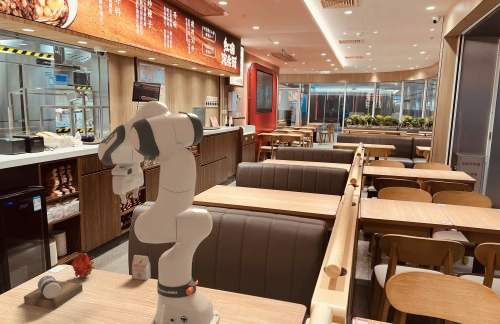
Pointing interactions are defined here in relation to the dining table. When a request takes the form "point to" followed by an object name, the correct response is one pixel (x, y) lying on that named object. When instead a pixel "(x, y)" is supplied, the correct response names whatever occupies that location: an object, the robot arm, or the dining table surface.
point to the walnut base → (65, 295)
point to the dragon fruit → (82, 264)
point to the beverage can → (49, 287)
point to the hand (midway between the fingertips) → (129, 200)
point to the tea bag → (140, 268)
